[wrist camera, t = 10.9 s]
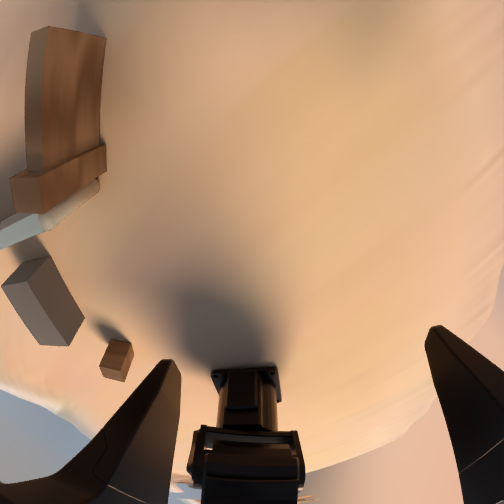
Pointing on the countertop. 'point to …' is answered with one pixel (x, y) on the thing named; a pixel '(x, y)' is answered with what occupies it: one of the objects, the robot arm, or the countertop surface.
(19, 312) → the grey rectangular block
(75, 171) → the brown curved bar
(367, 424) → the countertop surface
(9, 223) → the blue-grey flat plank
